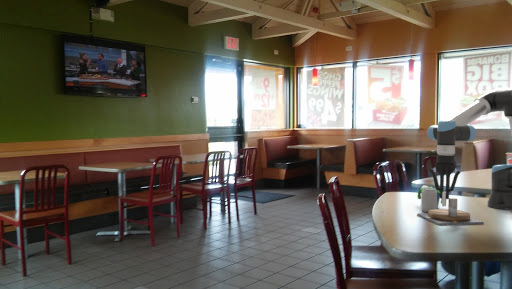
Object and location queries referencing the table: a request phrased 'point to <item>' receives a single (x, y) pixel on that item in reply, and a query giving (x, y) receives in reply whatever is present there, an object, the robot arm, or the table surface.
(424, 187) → the dagger
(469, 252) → the table surface
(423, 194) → the can
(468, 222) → the dial base
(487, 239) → the table surface
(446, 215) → the dial
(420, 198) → the snack cup
